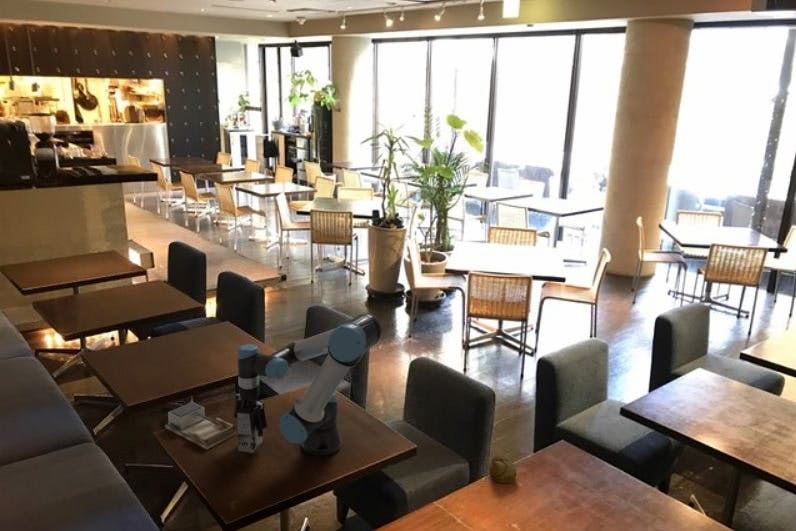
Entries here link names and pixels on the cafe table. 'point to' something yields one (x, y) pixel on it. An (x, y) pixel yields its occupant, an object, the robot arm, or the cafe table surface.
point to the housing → (186, 415)
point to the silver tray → (206, 432)
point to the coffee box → (246, 430)
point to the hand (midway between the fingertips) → (250, 439)
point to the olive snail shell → (502, 469)
